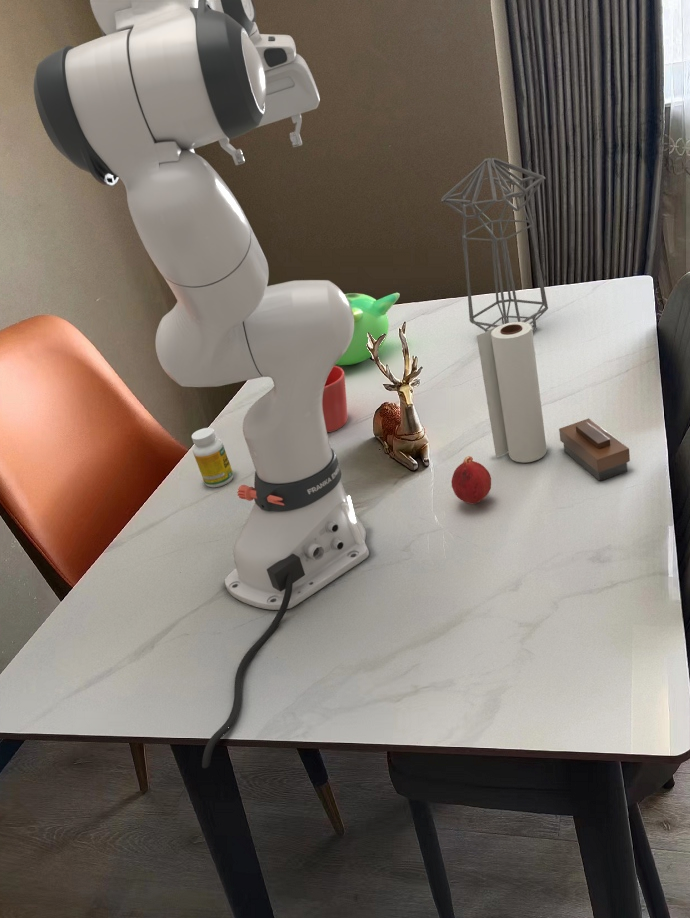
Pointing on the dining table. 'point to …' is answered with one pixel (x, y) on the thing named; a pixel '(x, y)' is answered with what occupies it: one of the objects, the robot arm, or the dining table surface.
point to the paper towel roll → (513, 391)
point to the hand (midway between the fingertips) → (269, 154)
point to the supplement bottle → (211, 458)
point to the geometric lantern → (477, 181)
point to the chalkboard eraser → (595, 449)
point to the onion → (471, 481)
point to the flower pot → (335, 400)
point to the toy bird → (366, 324)
